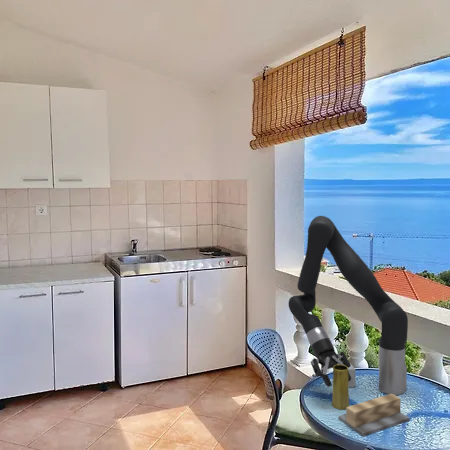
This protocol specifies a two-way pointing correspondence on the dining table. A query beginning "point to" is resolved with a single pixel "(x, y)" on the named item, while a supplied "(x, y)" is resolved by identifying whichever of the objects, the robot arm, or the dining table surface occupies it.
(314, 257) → the robot arm
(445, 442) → the dining table surface
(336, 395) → the vase
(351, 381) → the skincare box
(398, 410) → the ridge
